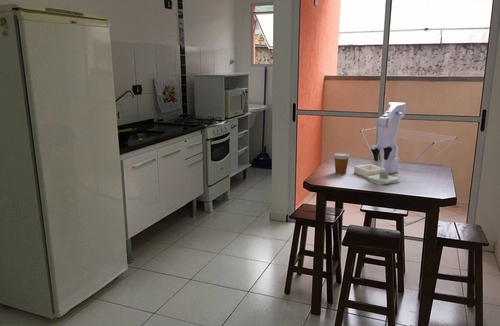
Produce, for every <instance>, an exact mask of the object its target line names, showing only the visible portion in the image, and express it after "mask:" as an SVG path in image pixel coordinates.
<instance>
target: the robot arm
mask: <svg viewBox="0 0 500 326" xmlns="http://www.w3.org/2000/svg"><path fill="white" fill-rule="evenodd" d="M406 109H407V104H406V102H392V101H390V102H388V105H387V110H386V111H385V112H384V113H383V114H382V115H381V116H379V117H377V120H376V126H377V127H376V128H377V140H376V141H377V142H376V144H374V145H370V146H371V147H370V152H372V156H373V161H374V162H378V160H379V155H380V156H381V159H382V161H381V167H382V168H385V169H386V170H385V171H386V172H388V174H394V173H399V160H398V158H397V157H398V155H399V146H398V145H397V144H396V141H397V136H398V133H399V132H398V131H399V127H400V123H401V120H402V119H403V118H404V117H405V114H406Z"/></svg>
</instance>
